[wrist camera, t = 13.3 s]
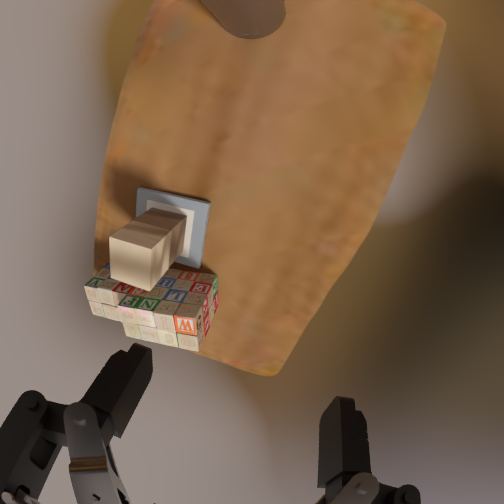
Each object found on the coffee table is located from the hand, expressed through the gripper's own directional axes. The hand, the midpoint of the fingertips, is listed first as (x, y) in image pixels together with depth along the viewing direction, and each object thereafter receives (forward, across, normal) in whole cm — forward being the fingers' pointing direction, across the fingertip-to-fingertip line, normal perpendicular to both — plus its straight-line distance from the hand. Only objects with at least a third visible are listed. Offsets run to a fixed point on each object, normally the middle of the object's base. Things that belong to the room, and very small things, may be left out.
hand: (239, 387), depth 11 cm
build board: (+32, +16, +9) cm, 37 cm away
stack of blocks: (+32, +17, +20) cm, 42 cm away
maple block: (+25, +16, +9) cm, 31 cm away
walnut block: (+31, +16, +9) cm, 36 cm away
